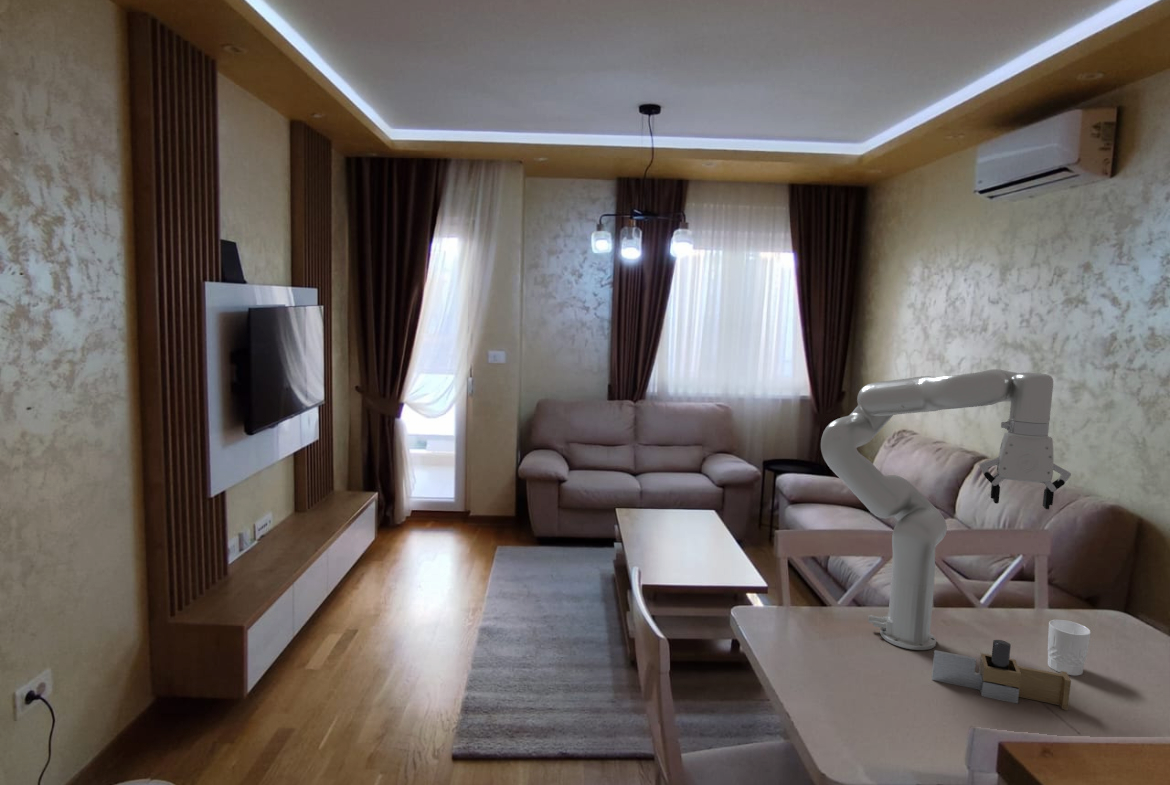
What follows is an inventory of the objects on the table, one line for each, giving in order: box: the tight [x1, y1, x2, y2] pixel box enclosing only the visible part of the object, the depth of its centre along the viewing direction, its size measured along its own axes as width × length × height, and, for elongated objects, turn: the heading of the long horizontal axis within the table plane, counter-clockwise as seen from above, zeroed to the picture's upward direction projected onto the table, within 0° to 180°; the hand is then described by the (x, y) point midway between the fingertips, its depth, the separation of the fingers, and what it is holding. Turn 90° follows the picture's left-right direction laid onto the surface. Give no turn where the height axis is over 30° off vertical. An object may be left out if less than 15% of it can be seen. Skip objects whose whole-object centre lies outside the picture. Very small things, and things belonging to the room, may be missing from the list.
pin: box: [991, 639, 1012, 670], centre depth 150 cm, size 3×3×11 cm
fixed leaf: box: [931, 649, 1020, 704], centre depth 152 cm, size 16×7×6 cm, turn 67°
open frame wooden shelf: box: [979, 653, 1072, 711], centre depth 149 cm, size 16×7×6 cm, turn 67°
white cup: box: [1047, 619, 1092, 676], centre depth 162 cm, size 8×8×10 cm
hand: (1020, 504), depth 157 cm, fingers open, 9 cm apart
